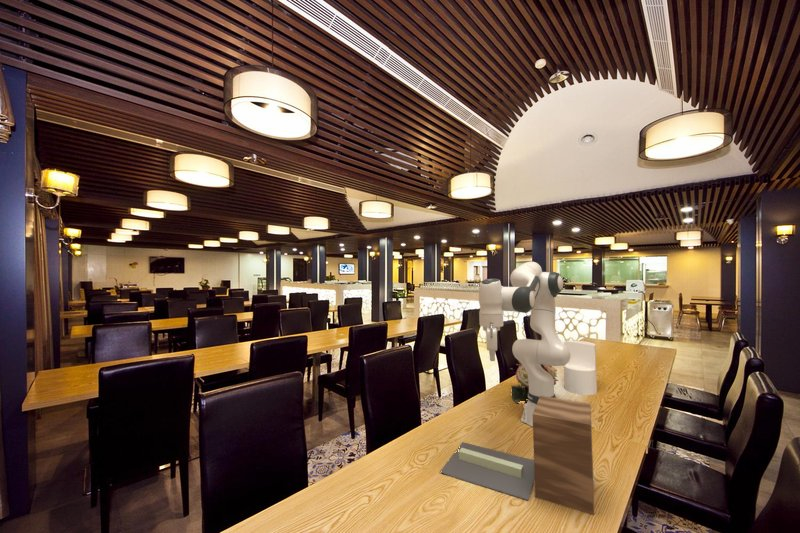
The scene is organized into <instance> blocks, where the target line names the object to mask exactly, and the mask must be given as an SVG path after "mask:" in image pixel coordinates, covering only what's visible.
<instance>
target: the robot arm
mask: <svg viewBox="0 0 800 533" xmlns="http://www.w3.org/2000/svg"><path fill="white" fill-rule="evenodd" d="M509 281H510V283H511V286H503V285H502V282H501V280H500V279H498V278H487V279H483V280H481V281H480V284H479V287H478V289H479V290H478V304H479V313H478V315H479V316H478V317H479V318H478V320H479V321H478V322H479V326H480V327H482V331H485V334H486V350H487V351H488V353H489V361H490V362H495V360H496V352H497V351H498V331H501V327H504V312H517V313H523V314H528V313H529V312H530V320H529V326H530V328H531V329H532V331H534V332H535V333H537V334H539V335H541V339H533V338H532V339H531V338H522V339H520V338H519V339H516V340H515V341H514V342H513V344H512V348H511V349H512V351H511V352H512V355H513V356H514V358H515V359H516V360H517V361H518V360H519V361H520V362H521V364H522V365H523V366H524V368H525V370H526V372H527V376H528V383H529V391H528V400H527V401H526V402H527V403H526V404H525V403H524V404H522V405H523V407H522V408H523V411H522V414H521V418H520V422H521V423H525V424H527V425H529V426H530V427H531V428H533V412H534V409H535V407H536V405H537V402H538V400H539V397H540V396H545V397H552V398H557V397H556V394H555V385H554V379H553V377H552V376H551V375H550V374H549V373H548V372H546V371H545V370H544V369H543V368H542V367H541V365H540V364H545V365H551V366H552V367H559V366H560V367H561V366H562V367H564V365H566V364H567V363H568V362H569V360H570V351H569V349H568V347H567V346H566V345H565V344H564V341H562V340H561V339H560V338H559V336H558V334H557V330H556V300H555V299H556V297H558V295H559V294H560V293H561V291H562V290H563V289H564V288H563V287H564V279H563V277H562V274H560V273H559V272H556V271H550V272H549V271H543V270H542V267H541V265H540V264H539V263H538V262H535V261H527V262H523V263H522V264H519V265H518V266H517V267H516V268H515V269H513V270H512V272H511V273H510V280H509ZM519 361H518V362H519Z"/></svg>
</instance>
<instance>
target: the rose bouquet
mask: <svg viewBox="0 0 800 533" xmlns="http://www.w3.org/2000/svg"><path fill="white" fill-rule="evenodd" d="M517 362H518V363H516V364H515V365H516V366H518V368H517V369H516V371H515V379H516V381H517V383H520V384H517V385H511V389H512V392H511V393H512V396H511V398H512V401H514V402H515V404H517V403H518V402H520V401H525V402H527V401H526V399H528V391H529V383H528V376H527V372H526V370H525V368H524V366H523V365H522V364H521V362H520V361H519V360H517ZM540 365H541V367H542V368H543V369H544V370H545V371H546V372H548V373H549V374H550V375H551V376H552V377H553V379H554V386H555V385H557V382H559V379H557V378H556V377H558V373H557V372H558V369H556V368H555V366H551V365H545V364H540ZM509 369H510V370H514V368H513V367H509Z"/></svg>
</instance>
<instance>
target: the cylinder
mask: <svg viewBox="0 0 800 533" xmlns="http://www.w3.org/2000/svg"><path fill="white" fill-rule="evenodd" d="M563 343H564V344H565V345H566V346H567V347H568V349H569V351H570V360H569V362H568V363H567V364H566V365H564V366H563V377H564V378H563V380H564V381H563V382H564V390H566V391H567V392H569V393H572V394H575V395H576V394H577V395H582V396H593V395H596V394H597V393H598V385H597V384H598V383H597V382H598V380H597V379H598V378H597V355H596V350H597V349H596V343H593V342H592V341H591V342H590V341H586V340H565V341H563Z"/></svg>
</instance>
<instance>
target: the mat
mask: <svg viewBox="0 0 800 533" xmlns="http://www.w3.org/2000/svg"><path fill="white" fill-rule="evenodd" d="M459 446H460V448H459ZM459 446H458V447H457V448H458V449H459V450H460V449H461V448H465V449H468V450H472V451H475V452H479V453H482V454H485V455H489V456H492V457H496V458H499V459H503V460H506V461H510V462H513V463H517V464H520V465H523V476H522V478H518V477H515V476H512V475H508V474H505V473H502V472H499V471H495V470H492V469H489V468H486V467H483V466H479V465H476V464H473V463H470V462H466V461H463V460H460V459H459V452H458V450H457V449H456V450H457V452H456V453H454V452H453V453H452V455H451V456H450V458H449V459H448V460H449V461H448V460H447V461H446V463H445V464H444V465H443V466H442V468H441V469H440V471H439V473H440V472H441V471H442V472H441V473H444V474H446V475H445V476H447V475H449V476H448V477H450V476H451V477H452V478H453V477H455V478H454V479H457V480H460V481H463V482H465V483H466V482H467V483H470V484H474V485H476V486H479V487H482V488H485V489H489V490H492V491H495V492H497V493H501V494H505V495H508V496H511V497H515V498H517V499H521V500H524V501H527V502H529V501H530V496H531V493H532V489H533V485H534V484H535V477H534V459H532V458H531V459H530V458H527V457H523V456H520V455H516V454H512V453H507V452H504V451H500V450H496V449H492V448H487V447H483V446H480V445H477V444H476V445H475V444H472V443H467V442H465V441H462V442H461V443H460V444H459ZM441 473H440V474H441ZM444 474H443V475H444Z"/></svg>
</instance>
